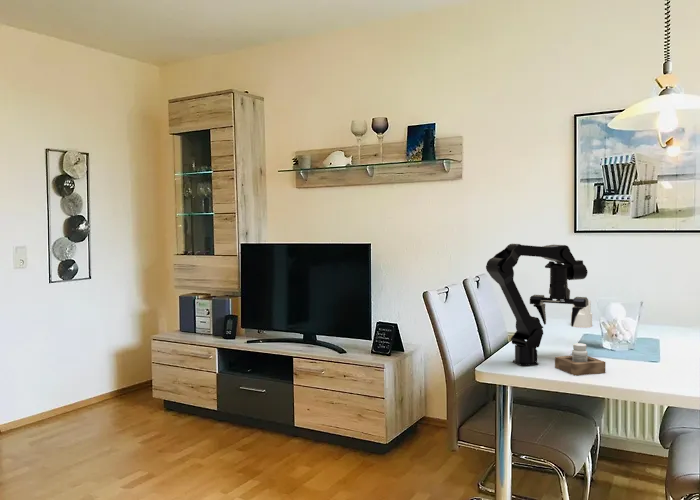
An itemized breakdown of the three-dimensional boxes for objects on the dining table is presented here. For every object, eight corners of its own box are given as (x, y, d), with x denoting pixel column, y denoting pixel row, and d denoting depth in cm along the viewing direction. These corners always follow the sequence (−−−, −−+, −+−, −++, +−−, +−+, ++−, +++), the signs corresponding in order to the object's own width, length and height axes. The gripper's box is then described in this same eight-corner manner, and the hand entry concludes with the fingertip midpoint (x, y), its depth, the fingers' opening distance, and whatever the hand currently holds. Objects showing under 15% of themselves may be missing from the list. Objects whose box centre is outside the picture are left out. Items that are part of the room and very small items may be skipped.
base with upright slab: (566, 325, 278) (566, 299, 278) (583, 323, 281) (583, 298, 280) (579, 328, 270) (579, 301, 269) (596, 327, 272) (596, 300, 272)
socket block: (575, 375, 190) (575, 364, 190) (555, 367, 201) (555, 356, 200) (605, 372, 193) (605, 362, 192) (584, 364, 203) (584, 354, 203)
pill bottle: (574, 367, 200) (575, 342, 199) (589, 369, 197) (589, 344, 196) (569, 370, 196) (569, 344, 196) (584, 372, 193) (584, 346, 193)
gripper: (591, 279, 212) (590, 323, 213) (537, 277, 222) (537, 320, 223) (585, 282, 203) (585, 329, 204) (529, 280, 212) (529, 324, 213)
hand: (558, 325), depth 211 cm, fingers open, 9 cm apart
